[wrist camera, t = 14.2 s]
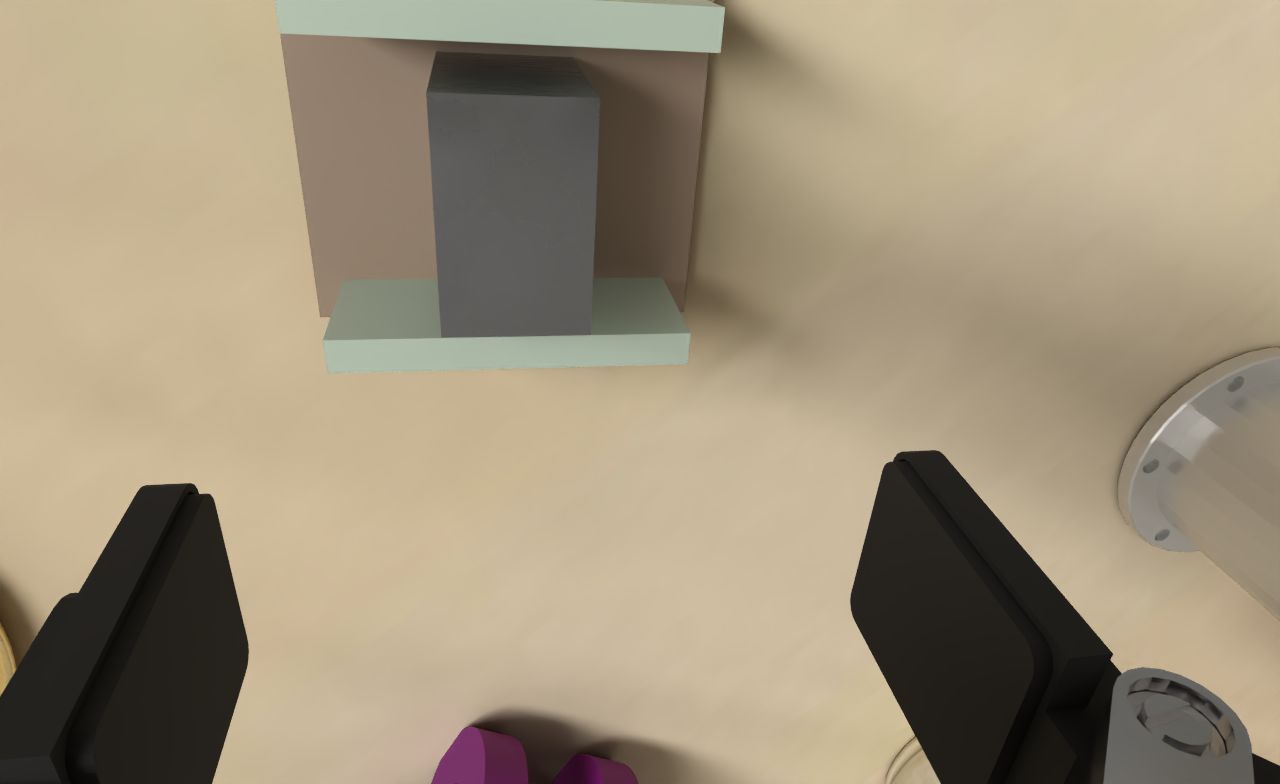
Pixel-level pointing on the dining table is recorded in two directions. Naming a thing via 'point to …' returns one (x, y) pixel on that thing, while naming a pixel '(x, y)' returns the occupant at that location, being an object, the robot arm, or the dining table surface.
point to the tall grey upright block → (513, 193)
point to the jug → (911, 767)
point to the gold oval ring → (5, 660)
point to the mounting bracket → (516, 763)
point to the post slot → (402, 186)
